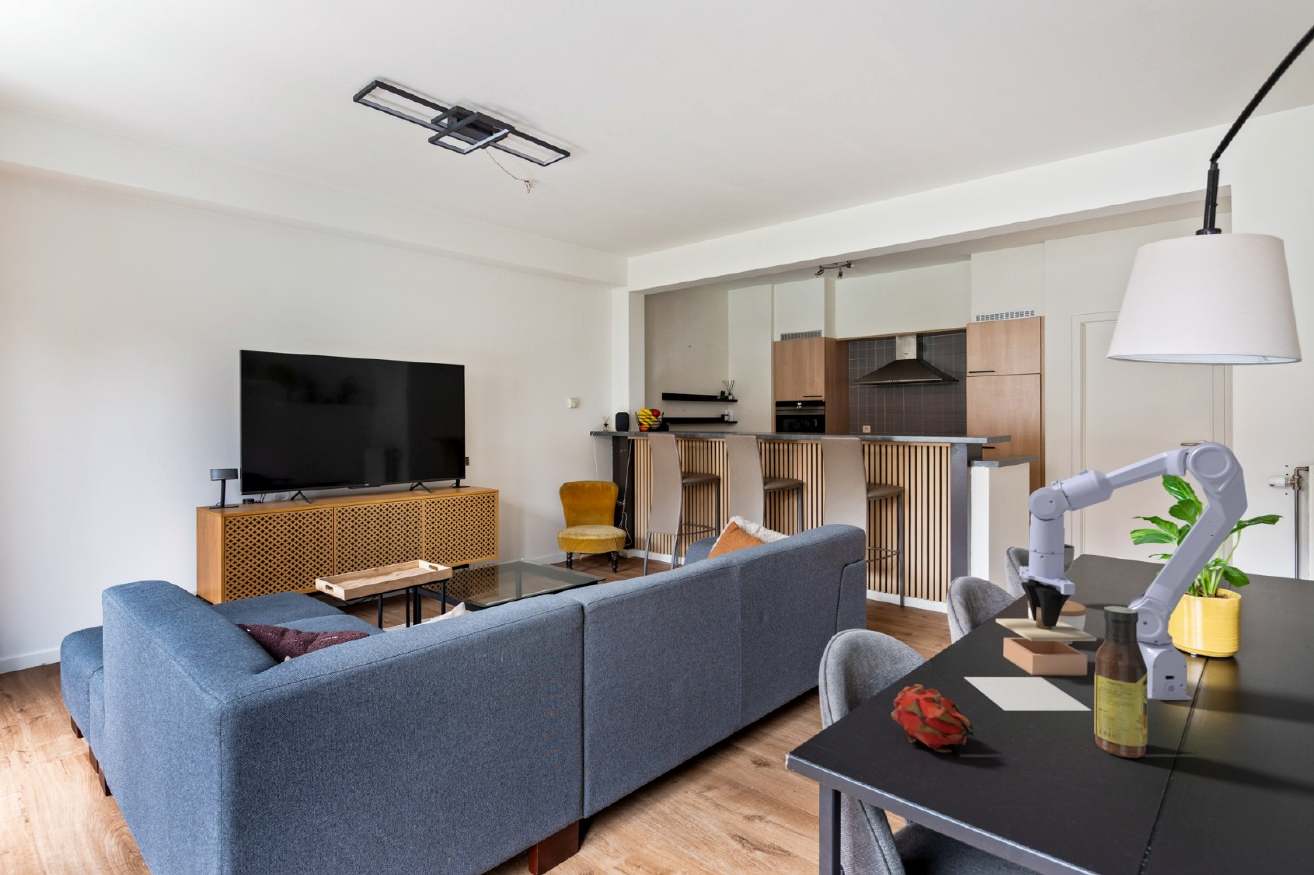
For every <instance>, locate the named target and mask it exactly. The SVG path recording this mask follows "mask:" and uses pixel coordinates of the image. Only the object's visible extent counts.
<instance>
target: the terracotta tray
mask: <svg viewBox="0 0 1314 875" xmlns="http://www.w3.org/2000/svg"><path fill="white" fill-rule="evenodd" d="M1002 651H1003V657H1004V658H1005V659H1006V660H1008V661H1010V662H1011V663H1012V664H1015V665H1016V666H1017V667H1019V668H1020V669H1022V670H1023V671H1025V672H1026V673H1028V674H1029V675H1031V676H1073V677H1074V676H1078V677H1079V676H1085V677H1086V676H1088V655H1087V654H1085V653H1083V652H1082V651H1079V650H1078V649H1076V648H1074V647H1072V646H1070V645H1067V644H1065V643H1063V642H1061V641H1030V640H1028V639H1027V638H1025V637H1003V650H1002Z"/></svg>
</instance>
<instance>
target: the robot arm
mask: <svg viewBox="0 0 1314 875" xmlns="http://www.w3.org/2000/svg"><path fill="white" fill-rule="evenodd" d="M1191 448H1192V446H1186V447H1181V448H1176V449H1173V450H1167V451H1164V452H1160V453H1158V454H1155V455H1152V456H1150V457H1147V458H1145V459H1142V460H1138V461H1136V462H1134V463H1130V464H1128V465H1126V466H1123V467H1121V468H1118V469H1115V470H1113V471H1109V472H1102V471H1100V470H1095V469H1092V470H1089V471H1088V469H1086V468H1085V469H1082V470H1079V471H1078V472H1077V473H1078V475H1076V476H1072V477H1070V478H1067V479H1064V480H1062V481H1061V480H1060V481H1058V480H1054V481H1051V483H1050V484H1051V486H1043V487H1040V488H1038V489H1037V490H1034V491H1033V492H1032V493H1031V494H1030V496H1029V497H1028V501H1027V507H1028V509H1029V512H1030V518H1029V519H1030V525H1029V539H1028V543H1029V545H1028V547H1029V548H1028V549H1029V550H1028V552H1029V553H1028V566H1025V565H1024V566H1022V565H1021V566H1019V574H1018V576H1019V577H1021V578H1023V579H1027V580H1028V581H1022V582H1021V584H1020V585H1021V586H1022V589H1023V591H1024V592H1025V595H1026V597H1027V601H1028V600H1029V604H1030V608H1031V612H1032V616H1033V620H1034V621H1036V608H1037V607H1041V615H1042V623H1043V625H1044V626H1056V624H1057V621H1058V618H1059V615H1060V612H1061V610H1062V607H1063V605H1064V604H1065V602H1066V601H1067V600H1069V598H1070V597H1071V595H1074V596H1075V595H1076V584H1075V583H1073V582H1072V581H1071V580H1069V579H1068V578H1067V577H1066V576H1065V575H1064V576H1063V574H1064V544H1065V536H1066V535H1065V534H1066V533H1065V531H1066V530H1065V529H1066V528H1065V526H1064V525H1065V514H1064V513H1065V512H1066V511H1070V512H1075V511H1078V510H1081V509H1083V508H1084V509H1085V508H1087V507H1091V506H1093V505H1097V504H1099V503H1103V502H1106V501H1109V500H1110V499H1111V496H1112V495H1113V492H1114V490H1117V489H1121V488H1124V487H1126V486H1130V485H1133V484H1137V483H1139V482H1143V481H1146V480H1150V479H1153V478H1156V477H1160V476H1164V475H1168V476H1177V477H1186V475H1187V472H1186V471H1188V472H1189V473H1190V475H1191V476H1192V478H1194V479H1195V481H1197V483H1199V484H1200V486H1201V487H1202V490H1203V493H1204V496H1205V497H1206V499H1207V502H1208V505H1206V507H1205V508H1204V510H1203V511H1202V512H1201V514H1200V515H1199V516H1198V518H1197V519H1196V520H1195V522H1194V524H1193V525H1192V527H1191V528H1190V529H1189V531H1188V532H1187V533H1186V535H1185V537H1184V538H1183V539H1182V540H1181V542H1180V543H1179V545H1178V546H1177V547H1176V548H1175V550H1174V552H1173V553H1172V554H1171V555H1170V556H1169V559H1167V561H1166V563H1165V564H1164V565H1163V567H1162V568H1161V569H1160V571H1159V572H1158V574H1157V575H1156V577H1155V578H1154V579H1153V580H1152V582H1150V584H1149V585H1148V586H1147V588H1146V590H1144V591H1143V592H1142V593H1140V594H1137V595H1136V596H1133V597H1132V598H1131V599H1130V600H1129V602H1128V604H1127V607H1126V608H1130V609H1134V610H1136V611H1137V612H1138V622H1137V624H1136V625H1137V642H1138V645H1139V647H1140V650H1141V653H1142V656H1143V658H1144V661H1145V664H1146V667H1147V673H1148V677H1147V681H1148V683H1147V688H1148V689H1147V692H1148V700H1158V701H1192V696H1190V695H1188V694H1187V690H1188V689H1187V688H1188V662H1187V658H1186V657H1185V655H1184V653H1182V652H1180V651H1179V650H1178V649H1177V648H1176V647H1175V645H1174V643H1173V636H1172V635H1171V634H1170V633H1169V632H1168V631H1169V623H1170V620H1171V617H1172V614H1173V613H1174V611H1175V610H1176V608H1177V606H1178V605H1179V603H1180V602H1181V600H1182V598H1183V597H1184V595H1186V593H1187V591H1188V590H1189V588H1190V587H1191V586H1192V585H1193V583H1194V582H1195V580H1196V579H1197V578H1198V576H1200V574H1201V572H1202V571H1203V570H1204V568H1205V567H1206V566H1207V564H1208V563H1209V562H1210V560H1211V559H1212V558H1213V556H1214V555H1215V553H1216V552H1217V551H1218V549H1220V547H1221V545H1222V544H1223V543H1224V542H1225V540H1226V539H1227V537H1228V536H1229V535H1230V533H1231V532H1232V531H1233V529H1234V528H1235V527H1236V525H1237V524H1238V522H1239V521H1240V520H1241V518H1242V517H1243V515H1245V513H1246V511H1247V509H1248V499H1247V498H1248V497H1247V491H1246V484H1245V476H1244V468H1243V467H1242V465H1241V463H1240V462H1239V460H1238V458H1237V457H1236V455H1235V454H1234V452H1233V451H1232V450H1231V449H1230V448H1229V447H1228V446H1227V445H1225V444H1222V443H1220V442H1217V441H1215V442H1214V441H1206V442H1202V443H1199V444H1197V445H1196V446H1194V447H1193V448H1192V449H1191ZM1190 449H1191V450H1190ZM1189 450H1190V451H1189ZM1187 451H1189V452H1187ZM1209 522H1210V523H1209ZM1211 535H1214V536H1213V537H1212V536H1211Z"/></svg>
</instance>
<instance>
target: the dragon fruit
mask: <svg viewBox="0 0 1314 875" xmlns="http://www.w3.org/2000/svg"><path fill="white" fill-rule="evenodd" d="M893 707H894V709H893V711H891V713H890V714H889V716H890V717H891V719H892V721H894V722H897V724H899V725H900V726H903V729H904V732H905V735H906V737H907V739H908V741H909V743H910V744H912V743H913V744H914V743H915V742H916V739H917V740H918V741H920V742H921V743H923V744H925V745H926V746H927V747H929V748H930V749H933V751H935V752H939V753H953V751H952V750H951V749H949V748H946V747H942V746H943V745H944V746H945V745H946V746H948V745H959V744H960V745H963V746H964V745H965V744H966V742H967V736H971V737H974V736H975V734H974V732H973V731H971V730H974V729H977V728H974V727H973V726H972V724H971V721H970V720H969V719H968V718H967V717H966V716H965V715H964V714H963V712H961V711H960V706H959V705H958V704H957V703H955V701H953V700H951V699H949V698H946V697H942V694H941V693H940V692H939V691H938V689H934V688H933V687H931V688H928V689H926V688H925V686H924V685H923V684H921V683H920V684H919V683H915V684H914V685H912V686H908V685H907V686H905V687H904V688H902V690H901V691H900V692H898V694H897V696H896V698H895V699H894V700H893ZM954 708H955V710H954Z"/></svg>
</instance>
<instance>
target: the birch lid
mask: <svg viewBox="0 0 1314 875" xmlns="http://www.w3.org/2000/svg"><path fill="white" fill-rule="evenodd" d="M995 623H997V624H999V625H1001V626H1003V627H1005V628H1006V629H1008V630H1010V631H1012V632H1014V633H1016V634H1018V635H1019V636H1021V637H1022V638H1027V639H1028V640H1030V641H1073V642H1097V640H1098V637H1096V636H1094V635H1092V634H1090V633H1088V632H1086V631H1084V630H1083V631H1081V630H1079V629H1077V628H1075V627H1073V626H1070V625H1068V624H1066V623H1064V622H1062V621H1060V620H1058V621H1057V624H1056V626H1044V625H1043V623H1042V615H1041V607H1037V608H1036V621H1034V620H1033V619H1029V618H995Z"/></svg>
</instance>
